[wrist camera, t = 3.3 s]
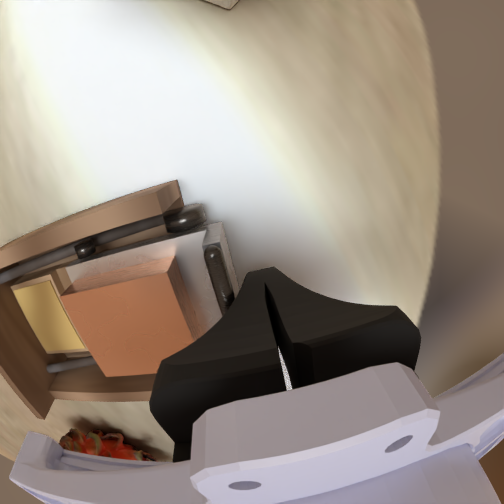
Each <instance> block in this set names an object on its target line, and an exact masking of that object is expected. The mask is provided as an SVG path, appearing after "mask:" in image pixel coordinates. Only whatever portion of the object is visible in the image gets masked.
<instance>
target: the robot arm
mask: <svg viewBox="0 0 504 504" xmlns="http://www.w3.org/2000/svg"><path fill="white" fill-rule="evenodd" d="M420 343H421V336H420V332H419V329H418V328H417V327H416V326H415V325H414V324H413V322H412V321H411V320H410V319H409V318H408V316H407V315H406V314H405V313H404V312H403V311H402V310H400V309H399V308H398V307H397V306H379V305H364V304H355V303H350V302H344V301H340V300H336V299H332V298H329V297H326V296H323V295H321V294H318V293H315V292H313V291H311V290H309V289H307V288H305V287H303V286H301V285H299V284H297V283H296V282H294V281H293V280H291V279H290V278H288V277H287V276H286V275H284V274H283V273H282V272H280V271H279V270H278V269H277V268H275V267H270V268H266V269H261V270H257V271H252V272H248V273H247V275H246V277H245V280H244V282H243V285H242V287H241V289H240V291H239V293H238V295H237V296H236V298H235V300H234V301H233V303H232V304H231V306H230V308H229V309H228V310H227V312H226V313H225V314H224V315H223V317H222V318H221V319H220V320H219V321H218V322H217V323H216V324H215V325H214V326H213V327H211V328H210V329H209V330H208V331H207V332H206V333H205V334H204V335H202V336H201V337H200V338H198V339H197V340H196V341H194V342H193V343H191V344H190V345H188V346H187V347H185V348H184V349H182V350H180V351H178V352H176V353H175V354H173V355H171V356H169V357H167V358H165V359H163V360H161V363H160V365H159V368H158V371H157V373H156V377H155V380H154V384H153V388H152V393H151V397H150V401H149V405H150V411H151V413H152V415H153V416H154V418H155V419H156V421H157V422H158V423H159V424H160V426H161V427H162V428H163V429H164V430H165V432H166V433H167V434H168V435H169V436H170V438H171V439H172V440H173V441H174V442H175V445H174V454H173V462H155V461H138V460H126V459H117V458H109V457H102V456H95V455H89V454H84V453H79V452H74V451H69V450H65V449H63V448H62V447H61V446H60V444H58V443H57V442H56V441H55V440H54V439H52V438H51V437H49V436H47V435H44V434H40V433H36V432H33V431H28V433H27V435H26V437H25V439H24V441H23V444H22V446H21V448H20V451H19V453H18V455H17V458H16V460H15V463H14V466H13V468H12V471H11V473H10V476H9V478H10V479H11V480H12V481H13V482H14V483H16V484H17V485H18V486H20V487H22V488H23V489H24V490H26V491H27V492H29V493H30V494H32V495H33V496H35V497H36V498H38V499H39V500H41V501H43V502H44V503H46V504H501V503H500V500H499V499H498V497H497V495H496V493H495V491H494V489H493V487H492V485H491V483H490V481H489V479H488V478H487V476H486V474H485V472H484V470H483V469H482V467H481V465H480V463H479V462H478V460H479V459H480V458H481V457H482V456H484V455H485V454H486V453H487V452H489V451H490V450H491V449H492V448H493V447H494V446H496V445H497V444H498V443H499V442H500V441H501V440H502V439H503V438H504V353H503V354H501V355H500V356H499V357H497V358H496V359H495V360H494V361H492V362H491V363H489V364H488V365H486V366H485V367H484V368H482V369H481V370H479V371H478V372H476V373H475V374H473V375H472V376H470V377H469V378H467V379H466V380H464V381H462V382H461V383H459V384H457V385H456V386H454V387H453V388H451V389H449V390H447V391H445V392H444V393H442V394H440V395H438V396H436V397H435V398H433V399H432V397H431V396H430V394H429V393H428V392H427V390H426V389H425V387H424V386H423V384H422V383H421V381H420V379H419V377H418V376H417V375H416V373H415V372H414V370H415V366H416V362H417V358H418V354H419V349H420ZM278 346H279V349H280V352H281V354H282V357H283V360H284V362H285V365H286V368H287V371H288V374H289V377H290V381H291V385H292V390H288V391H287V390H286V385H285V380H284V375H283V371H282V366H281V362H280V357H279V350H278Z"/></svg>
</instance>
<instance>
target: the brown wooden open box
mask: <svg viewBox="0 0 504 504" xmlns="http://www.w3.org/2000/svg"><path fill="white" fill-rule="evenodd" d="M180 207H184V203H183V200H182V196H181V192H180V188H179V185H178V181H177V180H174V181H170V182H167V183H163V184H160V185H157V186H153V187H150V188H147V189H144V190H140V191H137V192H134V193H131V194H128V195H125V196H122V197H119V198H116V199H113V200H110V201H107V202H105V203H102V204H99V205H96V206H94V207H91V208H88V209H86V210H83V211H80V212H78V213H75V214H73V215H70V216H68V217H65V218H63V219H60V220H58V221H55V222H53V223H51V224H48V225H46V226H44V227H41V228H39V229H37V230H35V231H32V232H30V233H28V234H26V235H24V236H22V237H19V238H17V239H15V240H13V241H11V242H9V243H7V244H5V245H4V246H2V247H0V373H1V374H2V376H3V377H4V379H5V380H6V381H7V383H8V384H9V385H10V386H11V388H12V389H13V390H14V392H15V393H16V394H17V395H18V396H19V398H20V399H21V400H22V401H23V402H24V404H25V405H26V406H27V407H28V408H29V409H30V410H31V412H32V413H33V414H34V415H35V416H36V417H37V418H39V419H44V420H45V418H46V416H47V414H48V412H49V410H50V407H51V405H52V403H53V401H54V399H63V400H77V401H103V402H127V401H150V397H151V393H152V388H153V384H154V380H155V377H156V373H154V374H142V375H129V376H113V377H106V376H105V374H104V373H103V371H102V370H101V369H100V367H99V366H98V364H97V362H96V361H95V359H94V358H93V356H92V355H91V353H90V351H89V350H88V348H87V347H86V345H85V343H84V342H83V340H82V338H81V337H80V335H79V333H78V331H77V330H76V328H75V326H74V324H73V322H72V320H71V319H70V317H69V315H68V313H67V311H66V309H65V307H64V305H63V303H62V301H61V299H60V296H61V294H62V293H63V292H64V291H65V290H66V289H67V288H68V287H69V286H70V285H71V284H72V282H71V280H70V278H69V275H68V273H67V271H66V267H67V266H68V265H69V264H70V263H71V262H72V261H75V260H78V257H77V254H76V252H75V249H74V246H75V245H77V244H78V243H80V242H82V241H85V240H87V239H92V240H93V243H94V246H95V249H96V252H95V253H94V254H92V255H95V254H99V253H102V252H106V251H109V250H113V249H116V248H120V247H123V246H127V245H131V244H134V243H138V242H142V241H146V240H149V239H153V238H157V237H161V236H165V235H168V234H172V233H167V231H166V227H165V224H164V221H163V217H162V216H163V215H164V214H165V213H167V212H169V211H172V210H174V209H177V208H180ZM92 255H90V256H92Z"/></svg>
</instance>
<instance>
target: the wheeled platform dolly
mask: <svg viewBox="0 0 504 504" xmlns="http://www.w3.org/2000/svg"><path fill="white" fill-rule="evenodd" d="M162 217H163V221H164V224H165V227H166V231H167V233H172V234H168V235H165V236H161V237H157V238H153V239H149V240H146V241H142V242H138V243H134V244H131V245H127V246H123V247H120V248H116V249H113V250H109V251H106V252H102V253H99V254H95V255H92V254H94V253H95V252H96V249H95V246H94V243H93V240H92V239H87V240H85V241H82V242H80V243H78V244H77V245H75V246H74V249H75V252H76V254H77V257H78V260H75V261H72V262H71V263H70V264H69V265H68V266H67V267H66V271H67V273H68V275H69V278H70V280H71V282H72V284H71V285H70V286H69V287H68V288H67V289H66V290H65V291H64V292H63V293H62V294H61V296H60V299H61V301H62V303H63V305H64V307H65V309H66V311H67V313H68V315H69V317H70V319H71V320H72V322H73V324H74V326H75V328H76V330H77V331H78V333H79V335H80V337H81V338H82V340H83V342H84V343H85V345H86V347H87V348H88V350H89V351H90V353H91V355H92V356H93V358H94V359H95V361H96V362H97V364H98V366H99V367H100V369H101V370H102V371H103V373H104V374H105V376H106V377H113V376H129V375H142V374H154V373H157V371H158V368H159V365H160V363H161V360H163V359H165V358H167V357H169V356H171V355H173V354H175V353H176V352H178V351H180V350H182V349H184V348H185V347H187V346H188V345H190V344H191V343H193V342H194V341H196V340H197V339H198V338H200V337H201V336H202V335H204V334H205V333H206V332H207V331H208V330H209V329H210V328H211V327H213V326H214V325H215V324H216V323H217V322H218V321H219V320H220V319H221V318H222V317H223V315H224V314H225V313H226V312H227V310H228V309H229V308H230V306H231V304H232V303H233V301H234V300H235V298H236V296H237V295H238V293H239V291H240V289H239V285H238V282H237V278H236V274H235V270H234V266H233V263H232V259H231V255H230V251H229V247H228V243H227V239H226V236H225V232H224V228H223V224H222V221H221V222H217V223H213V224H209V225H204V226H200V225H201V224H203V223H204V222H206V217H205V213H204V209H203V206H202V204H192V205H187V206H184V207H180V208H177V209H174V210H172V211H169V212H167V213H165V214H164V215H163V216H162ZM197 226H200V227H197ZM195 227H196V228H195ZM90 255H92V256H90Z"/></svg>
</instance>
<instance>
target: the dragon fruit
mask: <svg viewBox="0 0 504 504" xmlns="http://www.w3.org/2000/svg"><path fill="white" fill-rule="evenodd" d="M71 431H72V432H71ZM110 437H112V438H110ZM107 438H108V439H107ZM122 442H123V436H122V434H120V433H115V434H114V433H109V434H106V435H104V434H103V433H102V431H99V430H95V429H93V430H92V431H91V432H89V433H88V434H87V435H86V436H85V435H84V434H83V433H81V432H80V431H79V430H77V429H70V432H68V433H67V434H66V435H65V436H63V437H61V439H60V443H59V444H60V446H61V447H62V448H63V449H65V450H69V451H74V452H79V453H84V454H89V455H95V456H102V457H109V458H117V459H126V460H138V461H149V460H147V459H146V458H148V459H150V460H152V461H155V462H159V461H157V460H156V459H154V457H153V458H152V456H151V454H149V453H146V452H143V451H142V450H140V451H138V450H137V449H136V448H135V447H133V446H131V445H127V444H123V443H122Z"/></svg>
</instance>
